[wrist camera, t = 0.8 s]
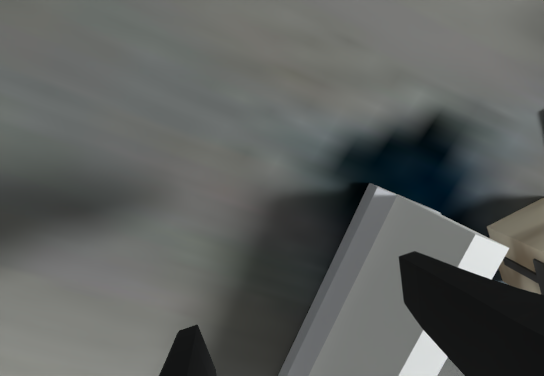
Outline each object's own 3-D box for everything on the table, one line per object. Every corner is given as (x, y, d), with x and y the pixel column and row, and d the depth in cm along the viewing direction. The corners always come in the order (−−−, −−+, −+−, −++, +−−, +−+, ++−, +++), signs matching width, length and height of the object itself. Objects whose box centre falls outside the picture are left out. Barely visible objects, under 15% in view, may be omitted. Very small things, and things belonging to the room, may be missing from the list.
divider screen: (369, 182, 22) (448, 223, 14) (430, 207, 23) (533, 257, 16) (275, 379, 25) (301, 503, 17) (334, 393, 26) (382, 515, 18)
